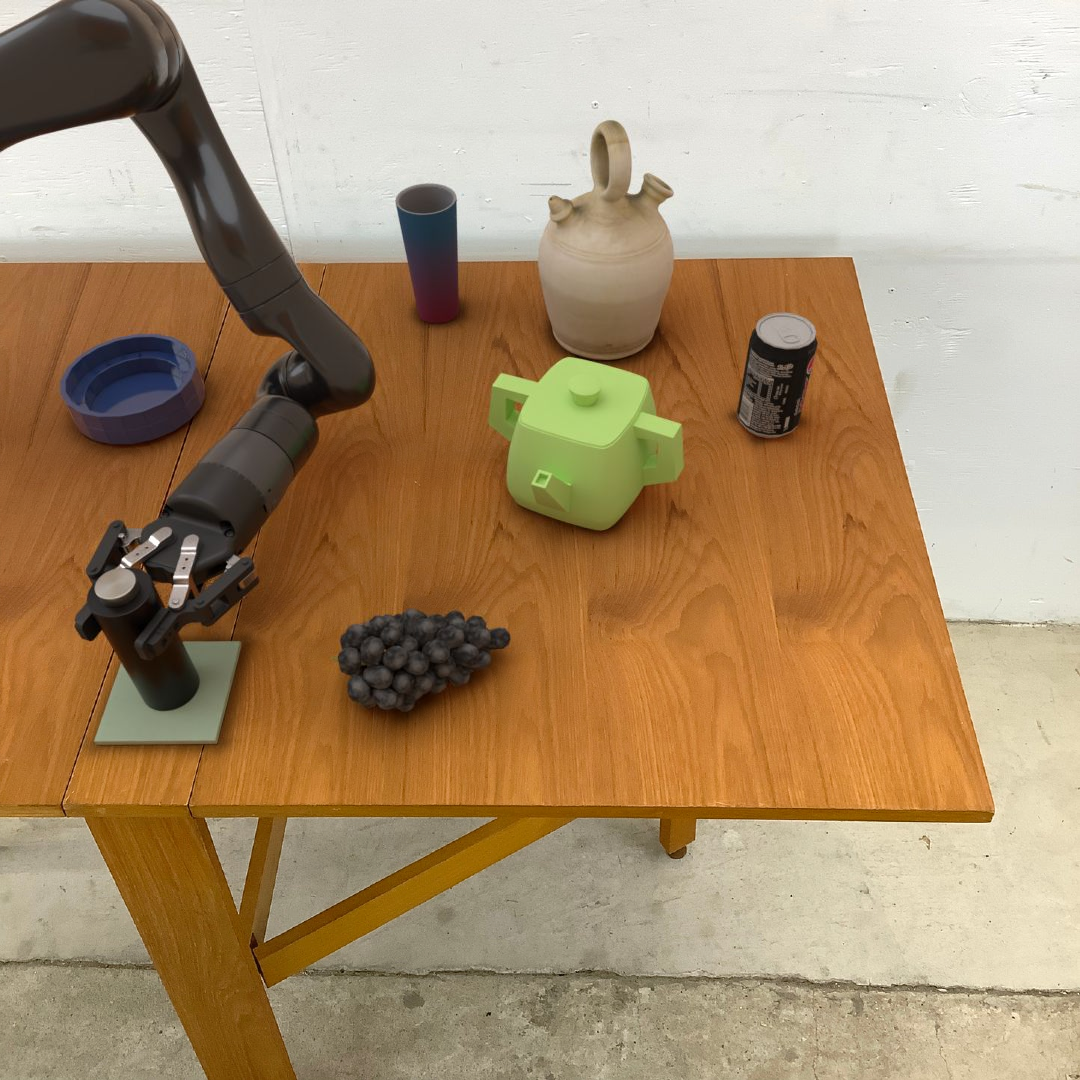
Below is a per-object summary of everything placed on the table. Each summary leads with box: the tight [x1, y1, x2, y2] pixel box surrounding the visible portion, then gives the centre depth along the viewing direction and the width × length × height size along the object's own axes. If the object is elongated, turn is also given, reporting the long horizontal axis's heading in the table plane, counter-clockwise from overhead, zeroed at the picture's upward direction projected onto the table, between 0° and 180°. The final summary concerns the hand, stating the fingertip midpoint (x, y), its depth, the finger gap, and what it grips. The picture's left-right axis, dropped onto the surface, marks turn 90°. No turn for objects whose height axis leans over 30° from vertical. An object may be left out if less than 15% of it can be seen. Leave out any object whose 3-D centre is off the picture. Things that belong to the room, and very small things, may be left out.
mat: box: [93, 640, 243, 746], centre depth 84 cm, size 10×10×1 cm
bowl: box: [59, 333, 207, 445], centre depth 108 cm, size 14×14×4 cm
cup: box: [395, 182, 460, 325], centre depth 115 cm, size 7×7×15 cm
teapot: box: [487, 356, 685, 531], centre depth 94 cm, size 18×20×13 cm
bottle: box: [86, 568, 200, 711], centre depth 78 cm, size 5×5×14 cm
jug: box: [537, 119, 675, 361], centre depth 108 cm, size 15×16×25 cm
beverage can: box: [736, 311, 819, 439], centre depth 101 cm, size 7×7×12 cm
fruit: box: [330, 608, 512, 713], centre depth 81 cm, size 9×8×15 cm
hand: (112, 643), depth 74 cm, fingers closed on bottle, 4 cm apart
